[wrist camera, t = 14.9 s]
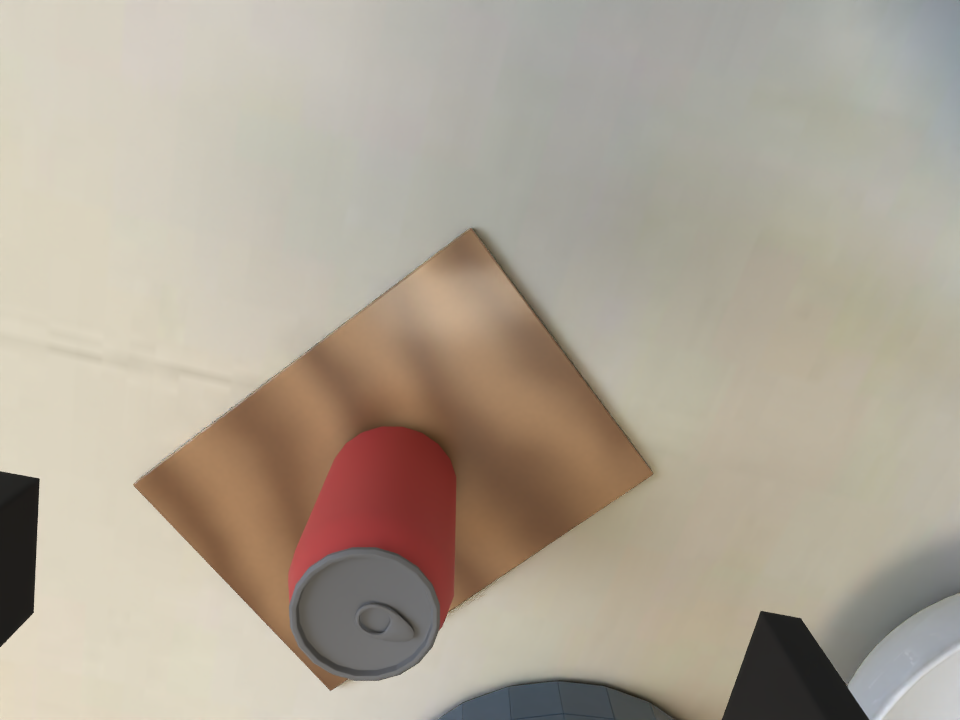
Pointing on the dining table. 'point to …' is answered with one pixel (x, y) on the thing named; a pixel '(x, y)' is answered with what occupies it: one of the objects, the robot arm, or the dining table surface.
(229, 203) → the dining table surface
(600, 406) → the wooden cutting board
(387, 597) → the beer can
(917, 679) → the serving bowl
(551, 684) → the blue bowl
